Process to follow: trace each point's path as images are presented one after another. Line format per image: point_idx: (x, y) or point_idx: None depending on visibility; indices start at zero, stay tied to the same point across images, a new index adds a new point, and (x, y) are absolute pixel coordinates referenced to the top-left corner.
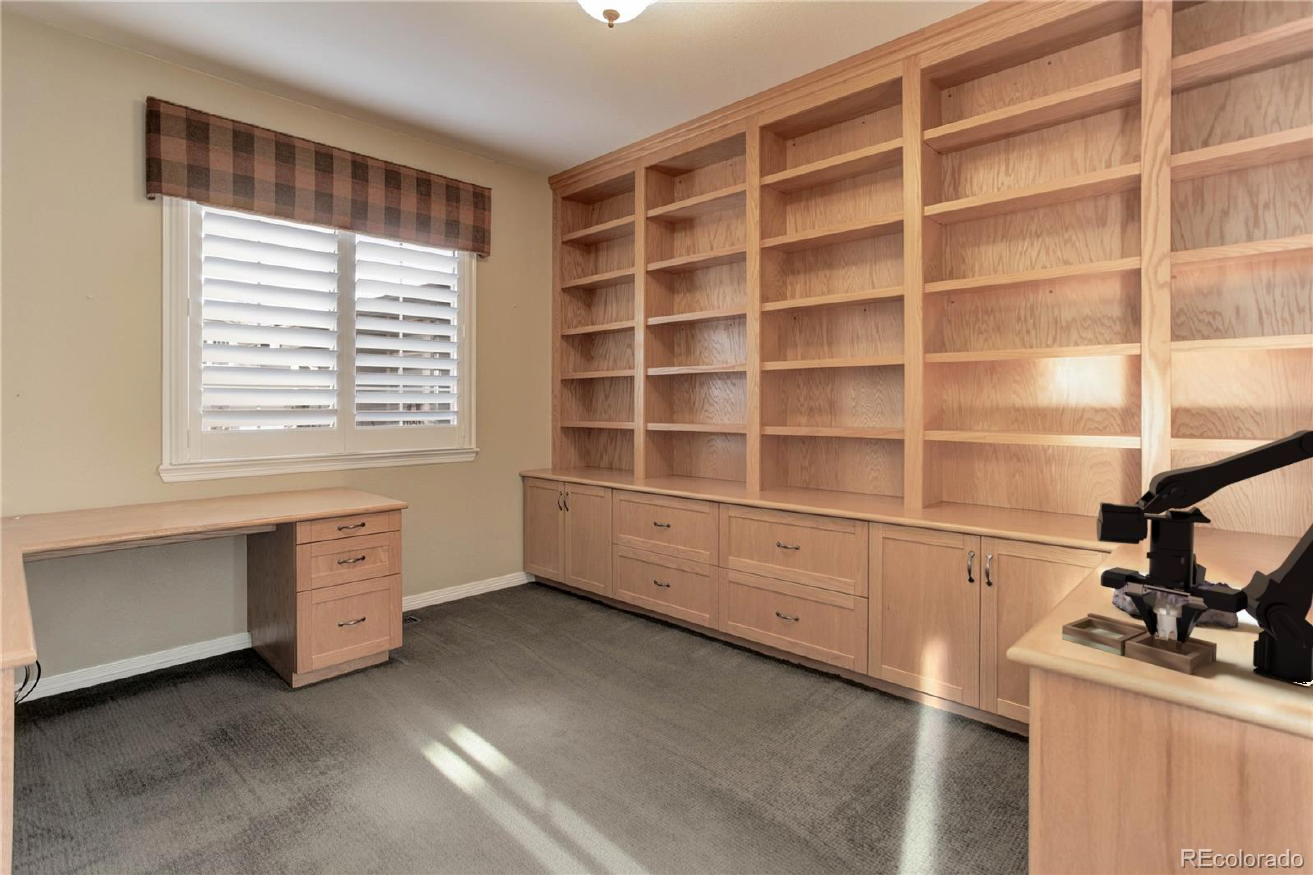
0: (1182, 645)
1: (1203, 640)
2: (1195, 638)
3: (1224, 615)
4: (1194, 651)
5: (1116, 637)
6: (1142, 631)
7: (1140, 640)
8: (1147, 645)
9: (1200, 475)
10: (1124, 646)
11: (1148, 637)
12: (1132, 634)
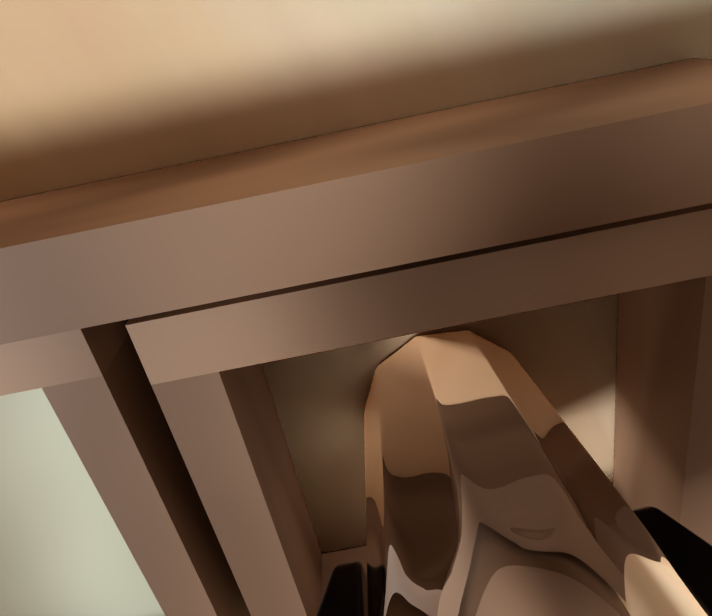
0: (570, 431)
1: (698, 124)
2: (600, 136)
3: None
4: (690, 462)
5: (17, 468)
6: (91, 372)
7: (296, 585)
8: (264, 419)
9: None
10: (246, 607)
11: (253, 457)
12: (153, 534)
